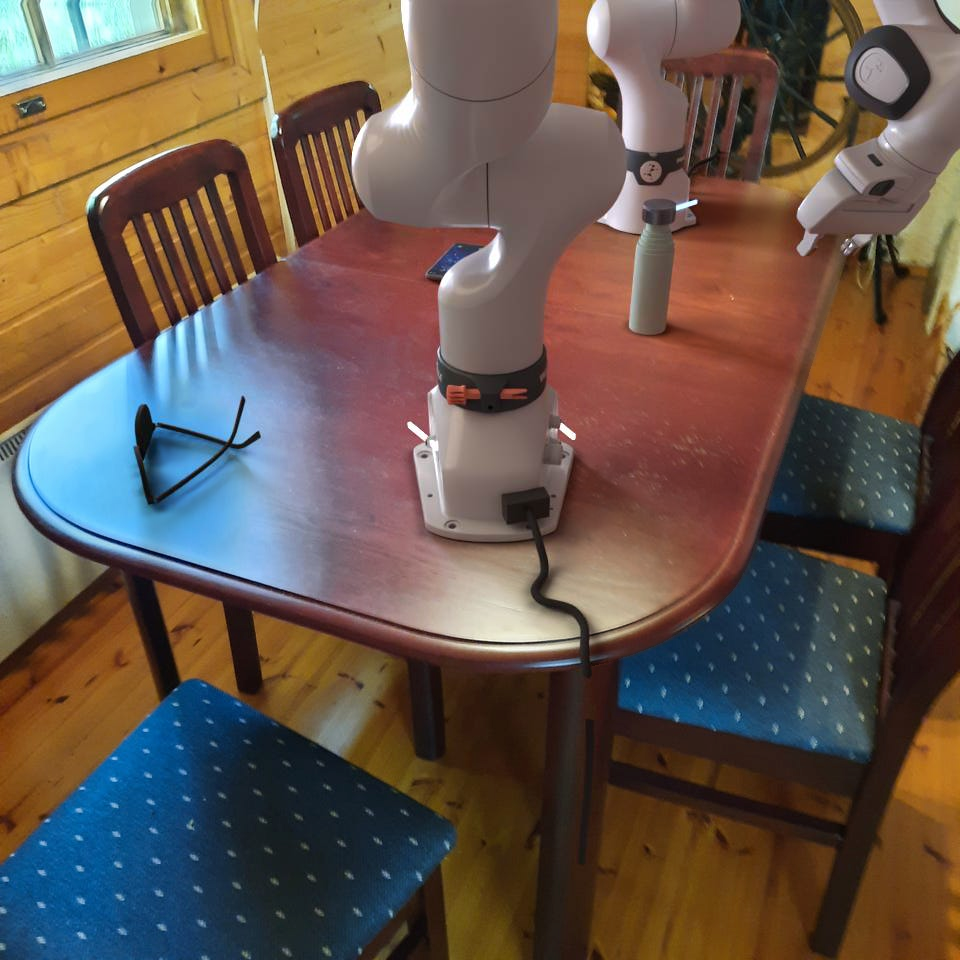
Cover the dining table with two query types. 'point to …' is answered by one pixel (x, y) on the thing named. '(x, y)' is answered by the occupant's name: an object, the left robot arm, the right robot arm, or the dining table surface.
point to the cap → (659, 211)
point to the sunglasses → (147, 427)
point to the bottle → (652, 280)
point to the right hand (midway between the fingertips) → (824, 252)
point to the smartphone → (451, 259)
